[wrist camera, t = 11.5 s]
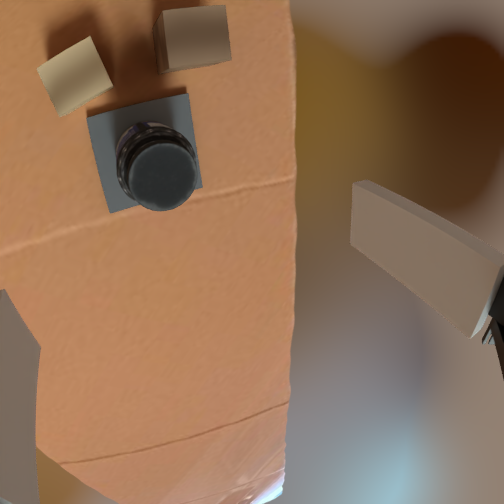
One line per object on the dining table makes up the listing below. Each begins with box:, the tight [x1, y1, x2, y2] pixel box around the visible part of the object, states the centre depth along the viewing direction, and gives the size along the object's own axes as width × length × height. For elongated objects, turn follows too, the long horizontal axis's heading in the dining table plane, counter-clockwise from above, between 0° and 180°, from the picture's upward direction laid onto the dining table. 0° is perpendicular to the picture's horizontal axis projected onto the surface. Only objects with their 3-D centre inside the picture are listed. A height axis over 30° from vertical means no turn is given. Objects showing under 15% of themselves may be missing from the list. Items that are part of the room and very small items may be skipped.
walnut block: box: [152, 5, 232, 74], centre depth 22 cm, size 5×5×7 cm
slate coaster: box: [86, 93, 203, 213], centre depth 29 cm, size 10×10×1 cm
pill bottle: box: [116, 121, 198, 211], centre depth 24 cm, size 6×6×11 cm
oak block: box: [37, 36, 113, 117], centre depth 21 cm, size 5×5×5 cm
